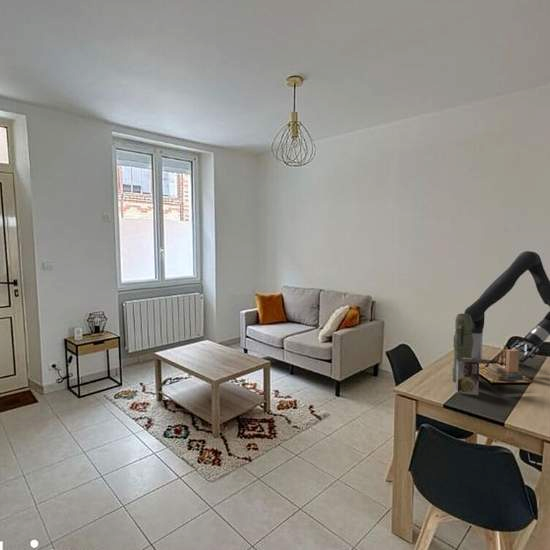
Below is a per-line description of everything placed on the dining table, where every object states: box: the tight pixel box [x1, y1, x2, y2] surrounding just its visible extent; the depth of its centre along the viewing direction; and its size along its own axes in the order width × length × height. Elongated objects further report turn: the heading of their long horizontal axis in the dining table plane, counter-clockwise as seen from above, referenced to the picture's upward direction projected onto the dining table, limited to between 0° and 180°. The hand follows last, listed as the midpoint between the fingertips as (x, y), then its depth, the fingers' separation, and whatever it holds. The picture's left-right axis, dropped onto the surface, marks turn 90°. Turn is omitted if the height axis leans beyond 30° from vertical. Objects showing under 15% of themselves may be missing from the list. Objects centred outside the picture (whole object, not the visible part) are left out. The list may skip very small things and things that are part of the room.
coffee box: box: [455, 357, 480, 396], centre depth 174 cm, size 9×6×16 cm
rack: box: [484, 369, 529, 382], centre depth 190 cm, size 16×11×4 cm
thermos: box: [452, 313, 473, 383], centre depth 187 cm, size 9×12×35 cm
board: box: [505, 348, 520, 373], centre depth 189 cm, size 5×2×14 cm, turn 93°
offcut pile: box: [486, 362, 509, 381], centre depth 189 cm, size 6×9×6 cm, turn 3°
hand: (514, 359), depth 189 cm, fingers open, 8 cm apart
